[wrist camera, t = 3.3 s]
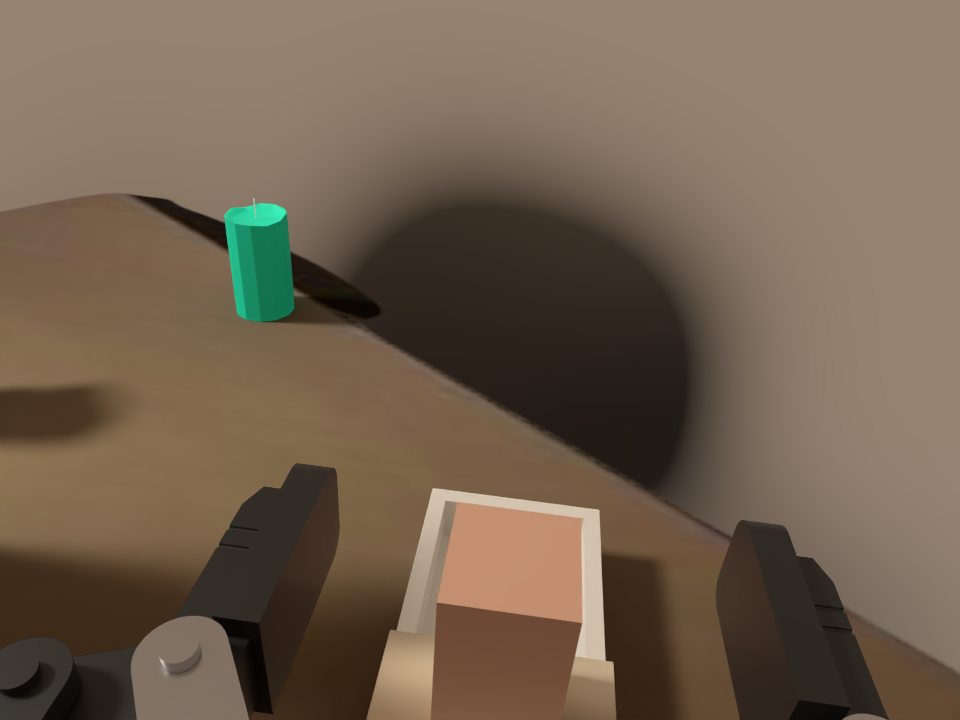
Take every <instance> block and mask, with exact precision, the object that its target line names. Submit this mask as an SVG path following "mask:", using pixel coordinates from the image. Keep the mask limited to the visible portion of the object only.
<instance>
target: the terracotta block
mask: <svg viewBox="0 0 960 720" xmlns="http://www.w3.org/2000/svg"><path fill="white" fill-rule="evenodd" d="M581 627H582V541H581V518H576V517H569V516H561V515H554V514H546V513H538V512H531V511H523V510H516V509H508V508H501V507H493V506H485V505H478V504H470V503H463V502H457V507H456V511H455V516H454V521H453V526H452V531H451V536H450V540H449V545H448V550H447V555H446V560H445V565H444V569H443V574H442V579H441V584H440V589H439V594H438V599H437V606H436V625H435V645H434V664H433V683H432V702H431V720H561V717H562V712H563V708H564V703H565V699H566V694H567V690H568V685H569V681H570V676H571V672H572V667H573V663H574V658H575V654H576V650H577V645H578V641H579V636H580V632H581Z"/></svg>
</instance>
